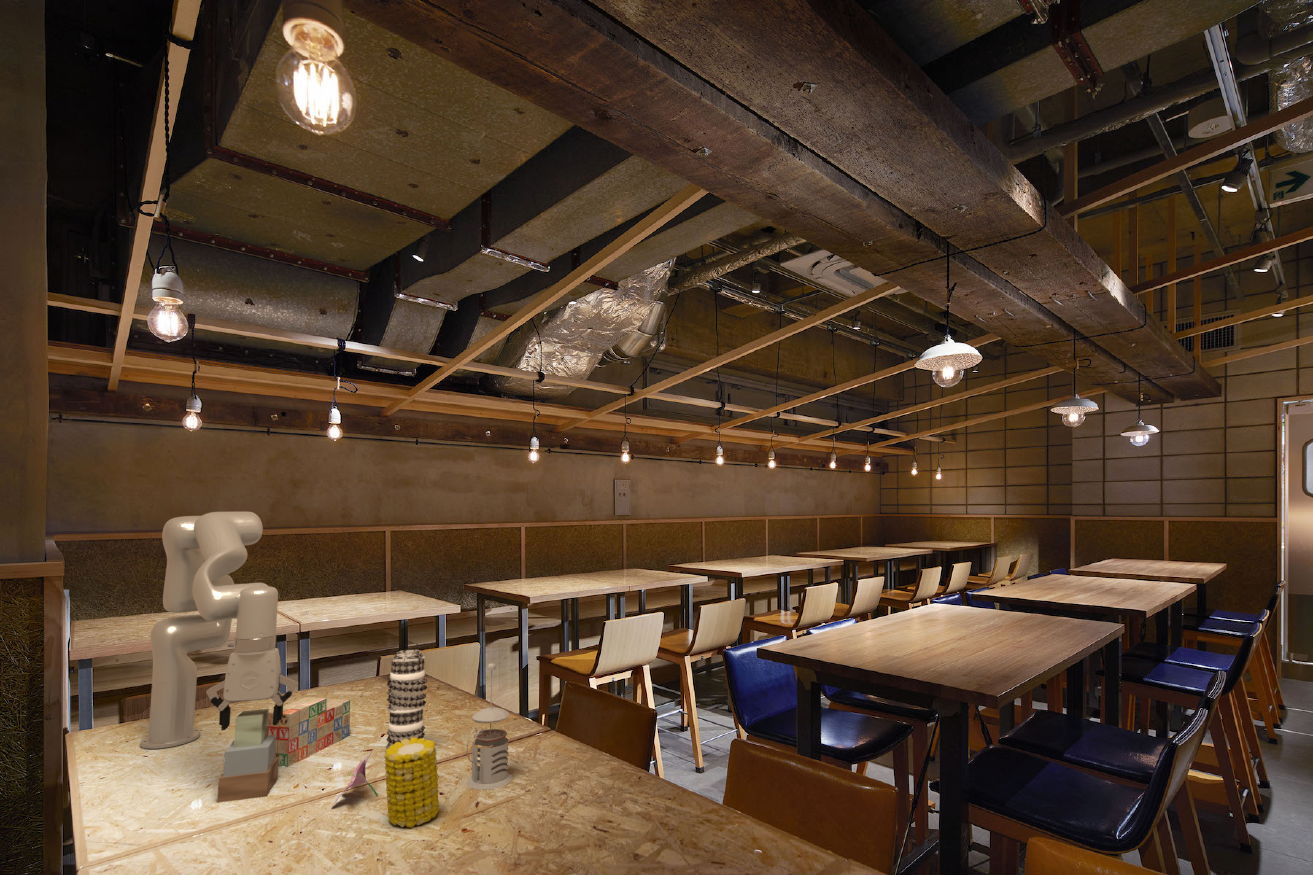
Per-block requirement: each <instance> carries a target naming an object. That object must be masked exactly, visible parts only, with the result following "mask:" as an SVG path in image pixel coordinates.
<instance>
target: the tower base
mask: <svg viewBox="0 0 1313 875" xmlns="http://www.w3.org/2000/svg"><path fill="white" fill-rule="evenodd" d="M278 765H279V757H275V759H274V761H273V763H272V764H271V766H270V768H269V770H268V771H267V772H261V773H253V774H246V775H238V776H230V777H223V773H222V774H221V775H220V776H219V777H218V782H217V783H218V784H217V785H218V786H217V787H218V788H217V800H216V802H217V804H218V803H225V802H235V801H241V800H249V799H257V798H265V797H268V795H269V794H270V792H271V791H272V789H273V788H274V786H275V784H277V781H278V780H279V766H278ZM270 790H271V791H270Z"/></svg>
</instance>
